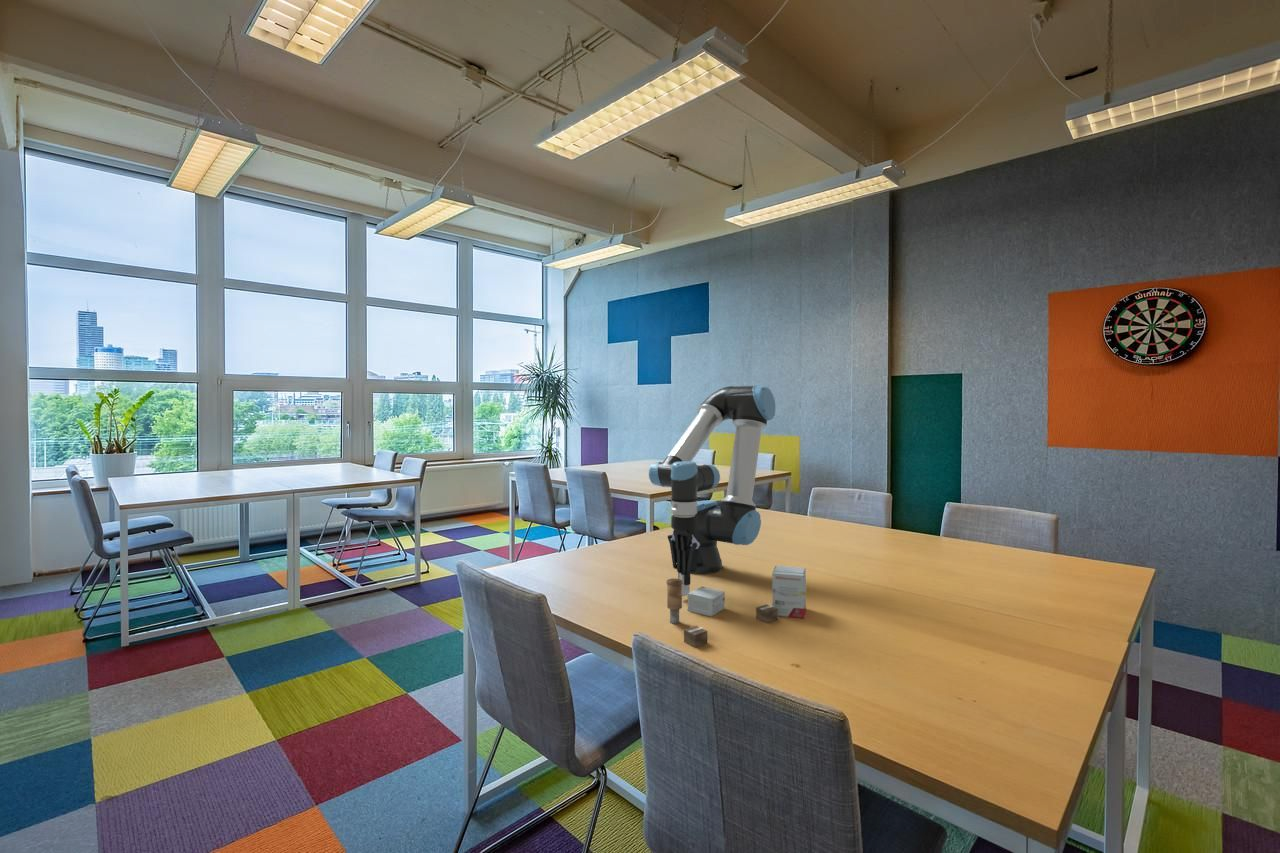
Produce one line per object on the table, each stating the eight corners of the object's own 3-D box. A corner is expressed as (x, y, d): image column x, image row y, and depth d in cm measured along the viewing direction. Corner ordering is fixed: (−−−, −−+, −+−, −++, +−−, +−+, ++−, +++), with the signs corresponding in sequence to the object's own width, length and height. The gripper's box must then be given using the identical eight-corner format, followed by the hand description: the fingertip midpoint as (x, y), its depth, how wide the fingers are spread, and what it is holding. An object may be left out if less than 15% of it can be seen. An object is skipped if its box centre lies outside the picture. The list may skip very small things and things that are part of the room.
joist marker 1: (696, 637, 143) (696, 625, 142) (707, 643, 139) (707, 630, 139) (683, 641, 140) (683, 628, 140) (694, 647, 137) (694, 634, 137)
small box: (712, 617, 156) (712, 598, 156) (687, 611, 161) (686, 593, 160) (725, 608, 162) (725, 590, 162) (700, 603, 167) (700, 585, 167)
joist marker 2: (766, 615, 157) (766, 603, 157) (777, 619, 154) (777, 607, 154) (755, 618, 155) (755, 606, 155) (767, 623, 151) (767, 611, 151)
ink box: (806, 608, 162) (806, 566, 162) (804, 619, 154) (804, 575, 153) (774, 604, 165) (775, 563, 164) (771, 615, 157) (771, 572, 156)
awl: (675, 617, 156) (675, 577, 155) (685, 622, 152) (685, 581, 152) (663, 621, 153) (663, 580, 153) (673, 626, 150) (673, 584, 149)
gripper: (660, 512, 171) (660, 591, 173) (688, 520, 161) (688, 603, 162) (679, 510, 176) (680, 586, 177) (708, 517, 165) (708, 598, 166)
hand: (684, 594), depth 169 cm, fingers closed
